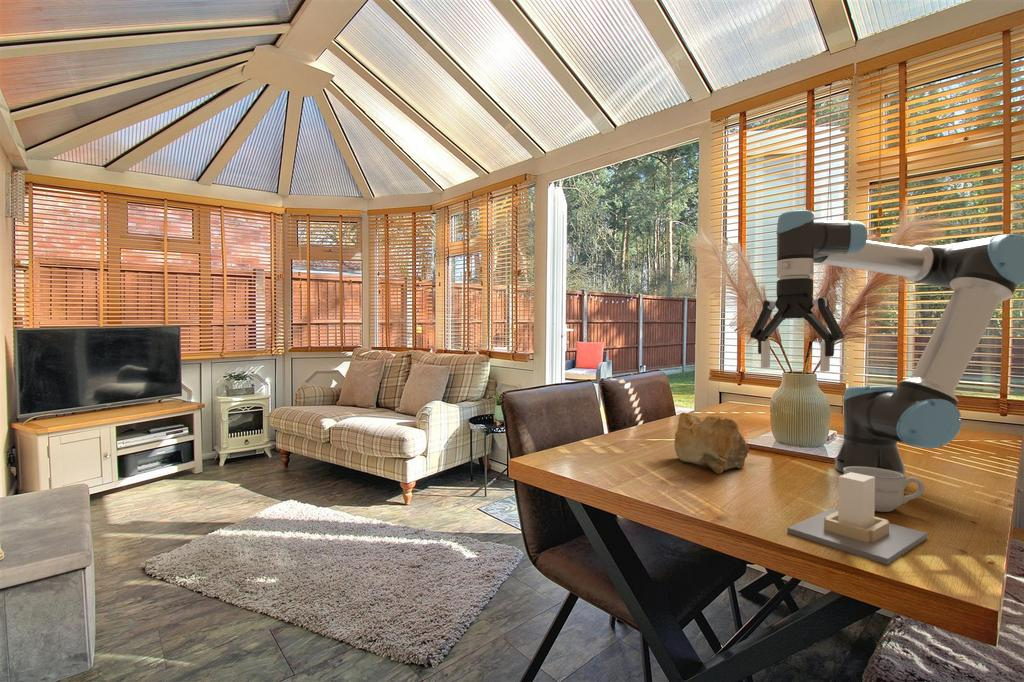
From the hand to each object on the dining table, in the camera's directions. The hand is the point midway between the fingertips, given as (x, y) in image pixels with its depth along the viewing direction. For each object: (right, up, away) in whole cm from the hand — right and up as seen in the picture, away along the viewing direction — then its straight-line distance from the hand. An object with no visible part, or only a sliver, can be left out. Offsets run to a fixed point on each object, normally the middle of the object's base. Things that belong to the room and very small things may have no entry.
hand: (793, 369), depth 120 cm
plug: (-3, -28, -25) cm, 38 cm away
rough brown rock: (-9, -29, +22) cm, 37 cm away
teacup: (+12, -29, -11) cm, 34 cm away
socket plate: (-2, -29, -25) cm, 39 cm away
